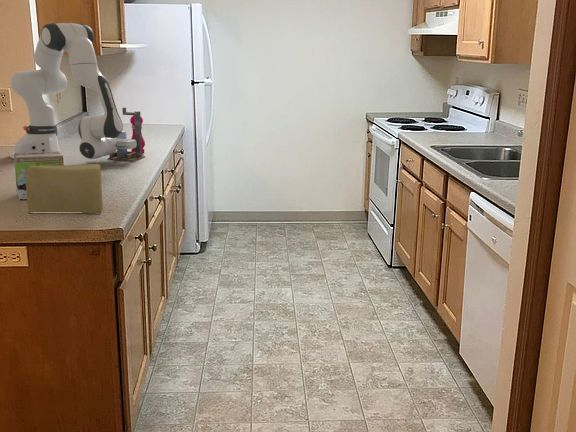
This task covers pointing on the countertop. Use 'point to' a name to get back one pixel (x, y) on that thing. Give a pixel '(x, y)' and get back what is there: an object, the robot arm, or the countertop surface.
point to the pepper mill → (134, 134)
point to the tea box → (32, 160)
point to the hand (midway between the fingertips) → (122, 140)
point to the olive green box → (64, 188)
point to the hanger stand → (138, 154)
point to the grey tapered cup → (122, 152)
